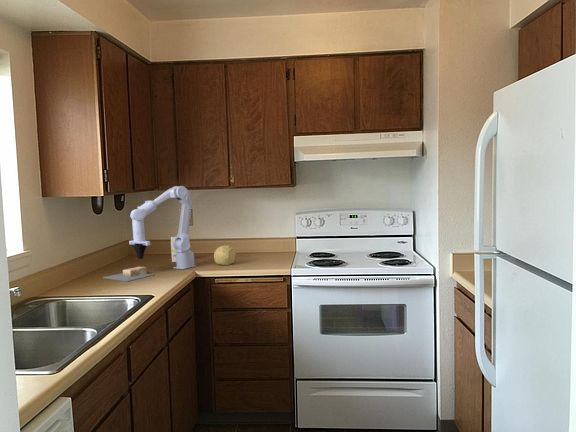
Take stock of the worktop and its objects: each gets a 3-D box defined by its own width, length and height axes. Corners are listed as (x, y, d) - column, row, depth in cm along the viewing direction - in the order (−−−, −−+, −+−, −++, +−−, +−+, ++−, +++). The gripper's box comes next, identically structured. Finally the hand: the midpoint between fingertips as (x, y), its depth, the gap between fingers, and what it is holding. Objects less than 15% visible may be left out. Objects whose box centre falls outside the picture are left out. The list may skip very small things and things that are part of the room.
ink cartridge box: (186, 259, 297) (185, 235, 296) (186, 261, 293) (185, 236, 291) (172, 260, 296) (170, 236, 295) (171, 262, 291) (170, 237, 290)
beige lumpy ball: (230, 266, 268) (229, 246, 267) (210, 266, 272) (209, 246, 271) (239, 262, 279) (238, 243, 278) (220, 262, 283) (219, 243, 282)
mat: (129, 272, 264) (129, 271, 264) (154, 275, 252) (154, 274, 252) (102, 278, 251) (102, 277, 251) (127, 281, 239) (127, 280, 239)
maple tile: (139, 266, 260) (122, 269, 252) (146, 267, 257) (130, 270, 249) (139, 272, 260) (123, 275, 252) (146, 273, 257) (130, 276, 249)
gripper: (123, 233, 257) (125, 259, 258) (141, 234, 249) (143, 260, 250) (134, 231, 263) (136, 257, 264) (152, 232, 254) (154, 258, 255)
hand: (140, 258), depth 257 cm, fingers closed
